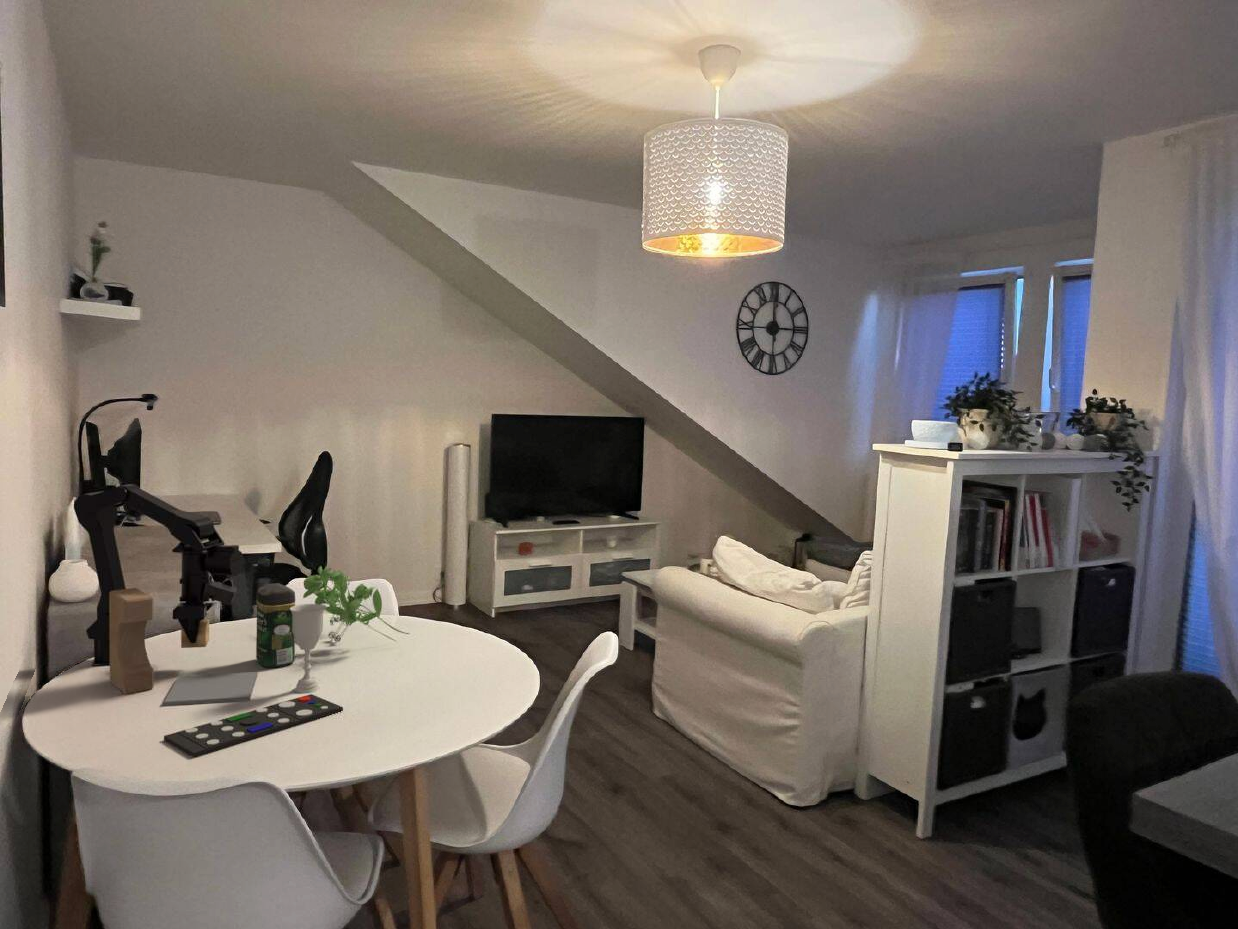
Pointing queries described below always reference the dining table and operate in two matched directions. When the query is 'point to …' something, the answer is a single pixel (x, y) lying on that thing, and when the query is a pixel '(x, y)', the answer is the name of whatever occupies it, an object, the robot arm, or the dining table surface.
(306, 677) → the chalice
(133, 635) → the decorative block
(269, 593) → the coffee jar
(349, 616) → the plant cuttings
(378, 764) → the dining table surface
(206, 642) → the oak cube
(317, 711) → the remote control
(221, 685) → the charcoal mat
